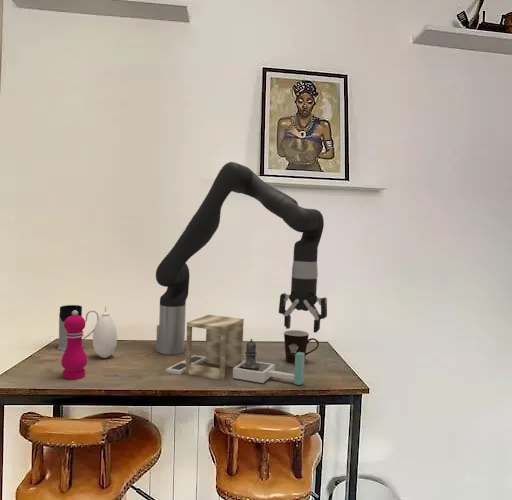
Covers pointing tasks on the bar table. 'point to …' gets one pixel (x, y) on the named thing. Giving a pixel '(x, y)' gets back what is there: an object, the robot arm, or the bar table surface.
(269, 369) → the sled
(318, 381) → the bar table surface
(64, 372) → the pepper mill
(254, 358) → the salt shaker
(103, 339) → the sauce bottle
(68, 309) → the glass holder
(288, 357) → the coffee mug
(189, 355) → the tunnel
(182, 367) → the pit trap board
